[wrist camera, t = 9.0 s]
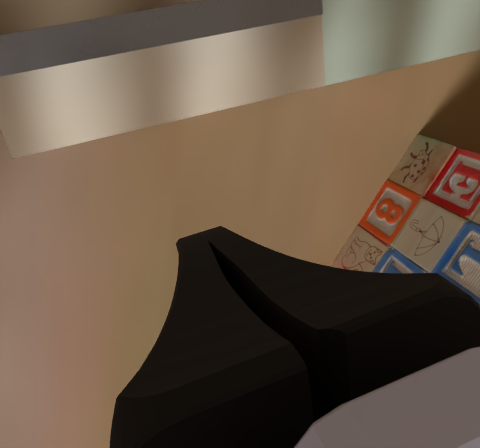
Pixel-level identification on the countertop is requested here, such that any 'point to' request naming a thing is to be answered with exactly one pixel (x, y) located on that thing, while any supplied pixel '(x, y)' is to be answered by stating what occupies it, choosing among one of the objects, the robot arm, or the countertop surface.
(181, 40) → the channel rails
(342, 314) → the robot arm
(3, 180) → the countertop surface
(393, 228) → the stack of blocks
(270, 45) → the chute board
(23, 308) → the countertop surface
